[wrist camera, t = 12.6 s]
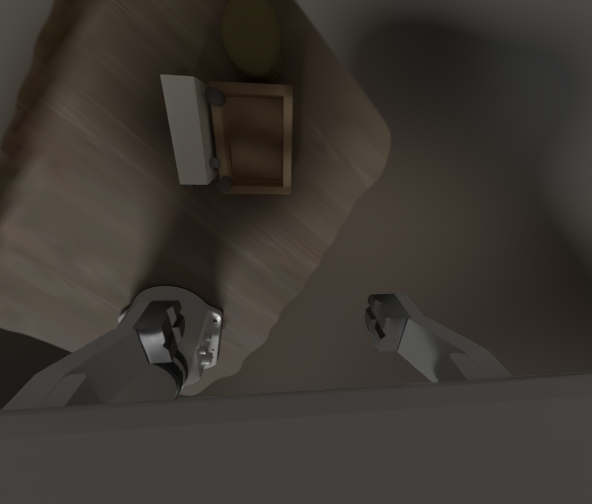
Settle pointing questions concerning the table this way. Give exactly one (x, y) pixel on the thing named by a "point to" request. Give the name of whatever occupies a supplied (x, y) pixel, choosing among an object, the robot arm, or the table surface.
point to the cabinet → (252, 136)
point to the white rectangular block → (191, 129)
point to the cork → (252, 40)
